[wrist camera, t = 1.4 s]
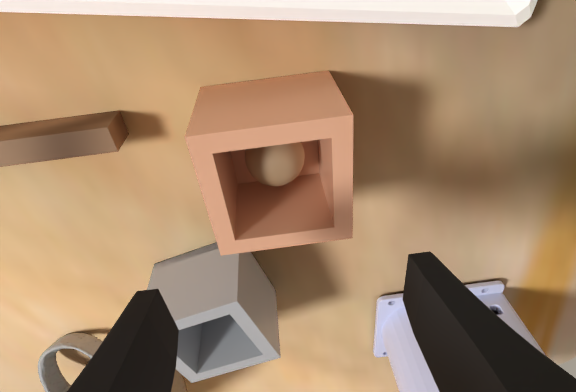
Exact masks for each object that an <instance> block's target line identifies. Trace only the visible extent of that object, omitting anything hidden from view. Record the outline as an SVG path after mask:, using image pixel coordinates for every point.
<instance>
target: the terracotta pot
mask: <svg viewBox="0 0 576 392" xmlns="http://www.w3.org/2000/svg"><path fill="white" fill-rule="evenodd" d="M185 140H186V143H187V146H188V150H189V153H190V156H191V159H192V163H193V166H194V169H195V173H196V176H197V179H198V182H199V186H200V189H201V192H202V195H203V199H204V202H205V205H206V209H207V212H208V215H209V218H210V222H211V225H212V228H213V232H214V235H215V238H216V241H217V245H218V248H219V251H220V255H221V256H222V255H229V254H237V253H245V252H252V251H260V250H267V249H275V248H282V247H290V246H297V245H305V244H312V243H320V242H327V241H335V240H342V239H350V238H352V232H353V113H352V111H351V110H350V108H349V106H348V104H347V102H346V101H345V99H344V97H343V95H342V93H341V92H340V90H339V88H338V86H337V85H336V83H335V81H334V79H333V77H332V76H331V74H330V72H329V71H322V72H314V73H306V74H298V75H291V76H283V77H275V78H268V79H260V80H252V81H245V82H237V83H229V84H222V85H214V86H206V87H200V90H199V93H198V96H197V100H196V103H195V106H194V109H193V112H192V115H191V118H190V122H189V125H188V128H187V131H186V134H185ZM297 142H301V143H302V145H303V148H304V154H305V159H304V165H303V167H302V170H301V172H300V173H299V175H298V176H297V177H296V178H295V179H294V180H293V181H291V182H289V183H288V184H285V185H282V186H268V185H264V184H262V183H260V182H259V181H257V180H256V179H255V178H254V177H253V176H252V175H251V174H250V172H249V171H248V169H247V166H246V163H245V150H246V149H251V148H259V147H266V146H274V145H281V144H289V143H297Z"/></svg>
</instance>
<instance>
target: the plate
mask: <svg viewBox="0 0 576 392" xmlns="http://www.w3.org/2000/svg"><path fill="white" fill-rule="evenodd" d="M537 1H538V0H0V12H24V13H58V14H92V15H126V16H161V17H195V18H229V19H263V20H297V21H331V22H365V23H400V24H434V25H468V26H502V27H519V26H520V25H521V24H523V23H524V22H525V21H527V20H528V19H529V18H530V17H531V16H532V13H533V11H534V8H535V6H536V3H537Z"/></svg>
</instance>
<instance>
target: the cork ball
mask: <svg viewBox="0 0 576 392" xmlns="http://www.w3.org/2000/svg"><path fill="white" fill-rule="evenodd" d="M304 159H305V154H304V148H303V145H302V143H301V142H297V143H289V144H281V145H274V146H266V147H259V148H251V149H246V150H245V163H246V166H247V169H248V171H249V172H250V174H251V175H252V176H253V177H254V178H255V179H256V180H257V181H259V182H260V183H262V184H264V185H268V186H282V185H285V184H288V183H289V182H291V181H293V180H294V179H295V178H296V177H297V176H298V175H299V173H300V172H301V170H302V167H303V165H304Z"/></svg>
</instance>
